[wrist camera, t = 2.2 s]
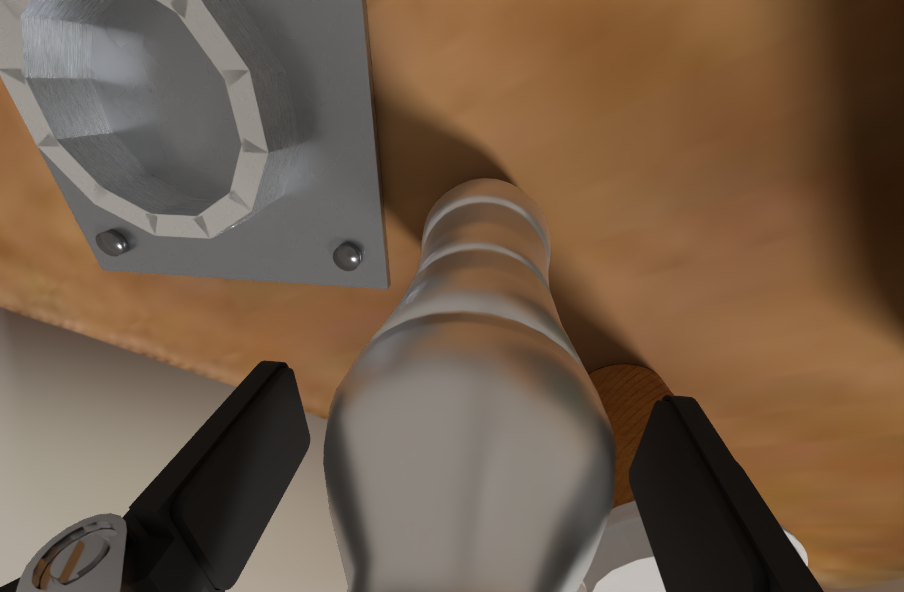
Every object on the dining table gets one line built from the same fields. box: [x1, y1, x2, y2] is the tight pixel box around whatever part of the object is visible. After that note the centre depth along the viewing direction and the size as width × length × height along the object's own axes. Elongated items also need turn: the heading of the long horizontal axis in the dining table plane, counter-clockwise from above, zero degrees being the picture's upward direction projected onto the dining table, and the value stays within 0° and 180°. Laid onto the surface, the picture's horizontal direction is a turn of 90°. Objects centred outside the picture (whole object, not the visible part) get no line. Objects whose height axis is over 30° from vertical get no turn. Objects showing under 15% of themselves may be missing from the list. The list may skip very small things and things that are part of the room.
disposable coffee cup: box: [582, 364, 808, 592], centre depth 21 cm, size 10×10×12 cm
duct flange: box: [0, 0, 390, 289], centre depth 18 cm, size 20×20×4 cm
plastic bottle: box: [323, 178, 616, 592], centre depth 12 cm, size 6×7×20 cm
